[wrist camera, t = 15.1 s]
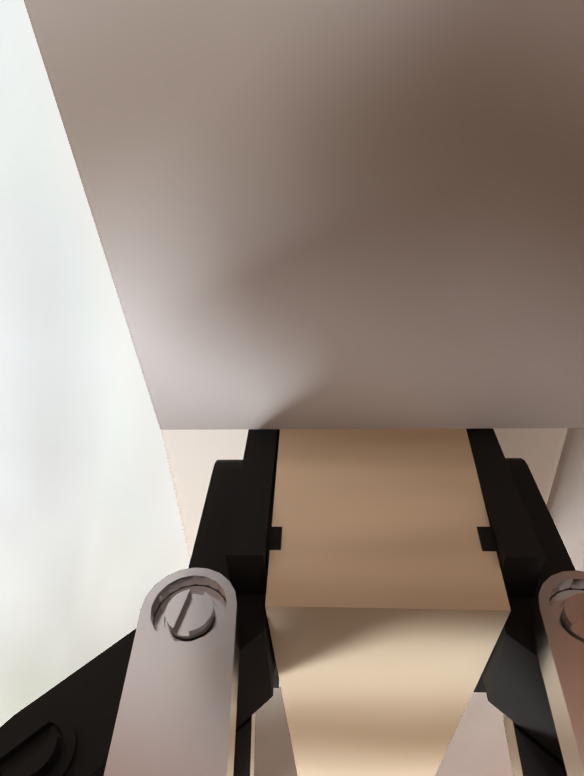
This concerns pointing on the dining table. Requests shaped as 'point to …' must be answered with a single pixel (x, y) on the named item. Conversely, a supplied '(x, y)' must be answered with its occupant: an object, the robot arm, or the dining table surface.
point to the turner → (347, 302)
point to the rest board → (204, 447)
